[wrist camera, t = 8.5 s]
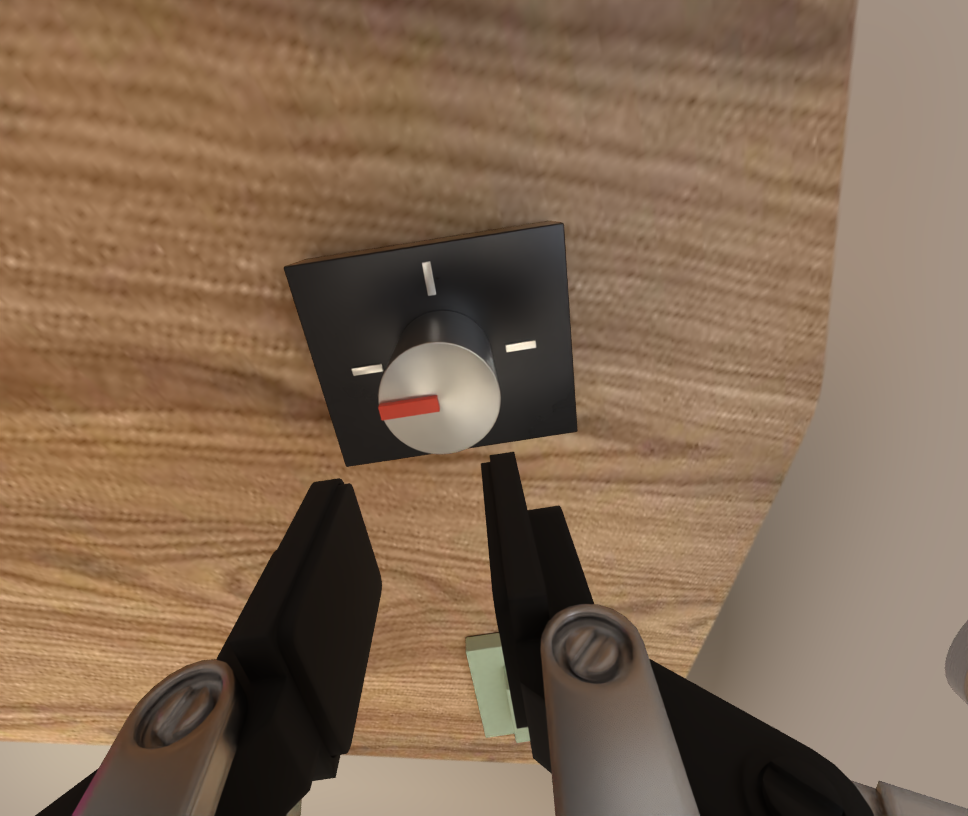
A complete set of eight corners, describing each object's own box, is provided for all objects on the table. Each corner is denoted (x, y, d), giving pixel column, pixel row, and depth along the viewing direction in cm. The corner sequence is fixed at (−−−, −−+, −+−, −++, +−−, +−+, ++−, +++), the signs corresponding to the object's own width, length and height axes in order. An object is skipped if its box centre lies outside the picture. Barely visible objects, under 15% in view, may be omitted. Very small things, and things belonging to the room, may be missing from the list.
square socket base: (615, 615, 33) (630, 652, 30) (618, 702, 37) (631, 742, 34) (465, 637, 33) (466, 676, 30) (484, 722, 37) (487, 763, 34)
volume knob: (484, 303, 20) (492, 335, 15) (497, 393, 22) (508, 449, 17) (386, 318, 20) (362, 355, 15) (407, 407, 22) (392, 467, 17)
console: (550, 220, 22) (564, 222, 19) (565, 408, 26) (578, 433, 23) (304, 259, 22) (281, 267, 19) (357, 440, 26) (345, 469, 23)
